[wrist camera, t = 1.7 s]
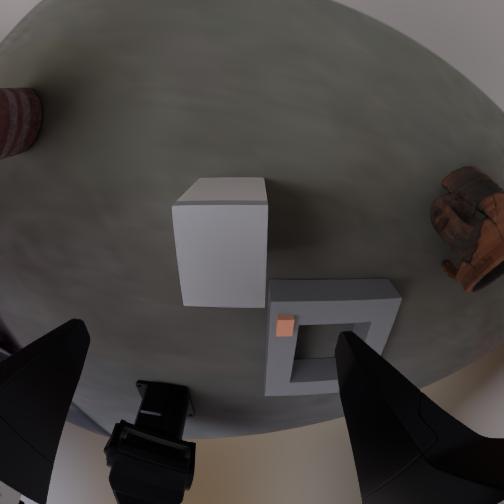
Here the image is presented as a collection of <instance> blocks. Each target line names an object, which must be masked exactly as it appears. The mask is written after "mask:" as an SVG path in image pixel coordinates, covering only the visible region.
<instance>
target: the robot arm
mask: <svg viewBox="0 0 504 504" xmlns="http://www.w3.org/2000/svg"><path fill="white" fill-rule="evenodd" d="M89 344H90V335H89V333H88V330H87V328H86V326H85V323H84V321H83V320H81V319H71V320H69V321H68V322H66V323H64V324H63V325H61V326H59V327H57V328H56V329H54V330H52V331H51V332H49V333H47V334H46V335H44V336H42V337H41V338H39V339H37V340H36V341H34V342H32V343H31V344H29V345H27V346H26V347H24V348H22V349H21V350H19V351H17V352H16V353H14V354H13V355H11V356H9V357H8V358H6V360H3V361H1V362H0V504H24V502H23V501H21V500H20V497H21V494H22V495H24V496H26V497H27V498H29V499H31V500H33V501H35V502H37V503H39V504H46V501H47V495H48V490H49V484H50V479H51V474H52V470H53V464H54V460H55V456H56V452H57V448H58V445H59V440H60V437H61V434H62V430H63V427H64V423H65V420H66V417H67V414H68V411H69V408H70V405H71V402H72V399H73V396H74V393H75V390H76V387H77V384H78V382H79V379H80V376H81V373H82V369H83V365H84V362H85V358H86V355H87V351H88V348H89ZM335 361H336V368H337V376H338V385H339V392H340V398H341V402H342V406H343V411H344V415H345V419H346V424H347V428H348V432H349V437H350V442H351V446H352V451H353V456H354V461H355V466H356V470H357V476H358V481H359V487H360V492H361V497H362V504H504V438H488V437H484V436H481V435H479V434H477V433H476V432H474V431H473V430H471V429H470V428H468V427H467V426H465V425H464V424H463V423H461V422H460V421H458V420H456V419H455V418H454V417H453V416H451V415H450V414H448V413H447V412H446V411H444V410H443V409H442V408H440V407H439V406H438V405H437V404H436V403H434V402H433V401H432V400H431V399H430V398H428V397H427V396H426V395H425V394H424V393H422V392H421V391H420V390H419V389H418V388H417V387H416V386H415V385H414V384H412V383H411V382H410V381H409V380H408V379H407V378H406V377H404V376H403V375H402V374H401V373H400V372H399V371H398V370H396V369H395V368H394V367H393V366H392V365H391V364H390V363H388V362H387V361H386V360H385V359H384V358H383V357H382V356H380V355H379V354H378V353H377V352H376V351H375V350H374V349H372V348H371V347H370V346H369V345H368V344H367V343H366V342H364V341H363V340H362V339H361V338H360V337H359V336H358V335H356V334H355V333H354V332H352V331H344V332H341V333H340V334H339V337H338V341H337V344H336V348H335ZM136 387H137V389H138V391H139V393H140V395H141V397H142V401H141V404H140V407H139V411H138V414H137V417H136V420H135V423H134V425H133V424H131V423H128V422H126V421H125V420H122V419H121V422H120V423H116V424H115V427H114V430H113V432H112V435H111V437H110V439H109V440H108V442H107V444H106V446H105V448H104V453H105V455H106V456H107V457H106V460H107V466H108V467H111V471H110V475H109V482H110V485H111V488H112V490H113V493H114V496H115V498H116V500H117V503H118V504H180V503H181V502H182V501H183V496H184V491H185V490H187V491H189V489H190V487H191V484H192V481H193V476H194V467H195V448H196V443H193V442H187V441H183V440H182V436H183V431H184V426H185V421H186V416H188V417H194V415H195V412H194V408H193V405H192V401H191V398H190V394H189V391H188V389H187V388H186V387H182V386H173V385H164V384H157V383H150V382H143V381H137V382H136Z"/></svg>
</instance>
